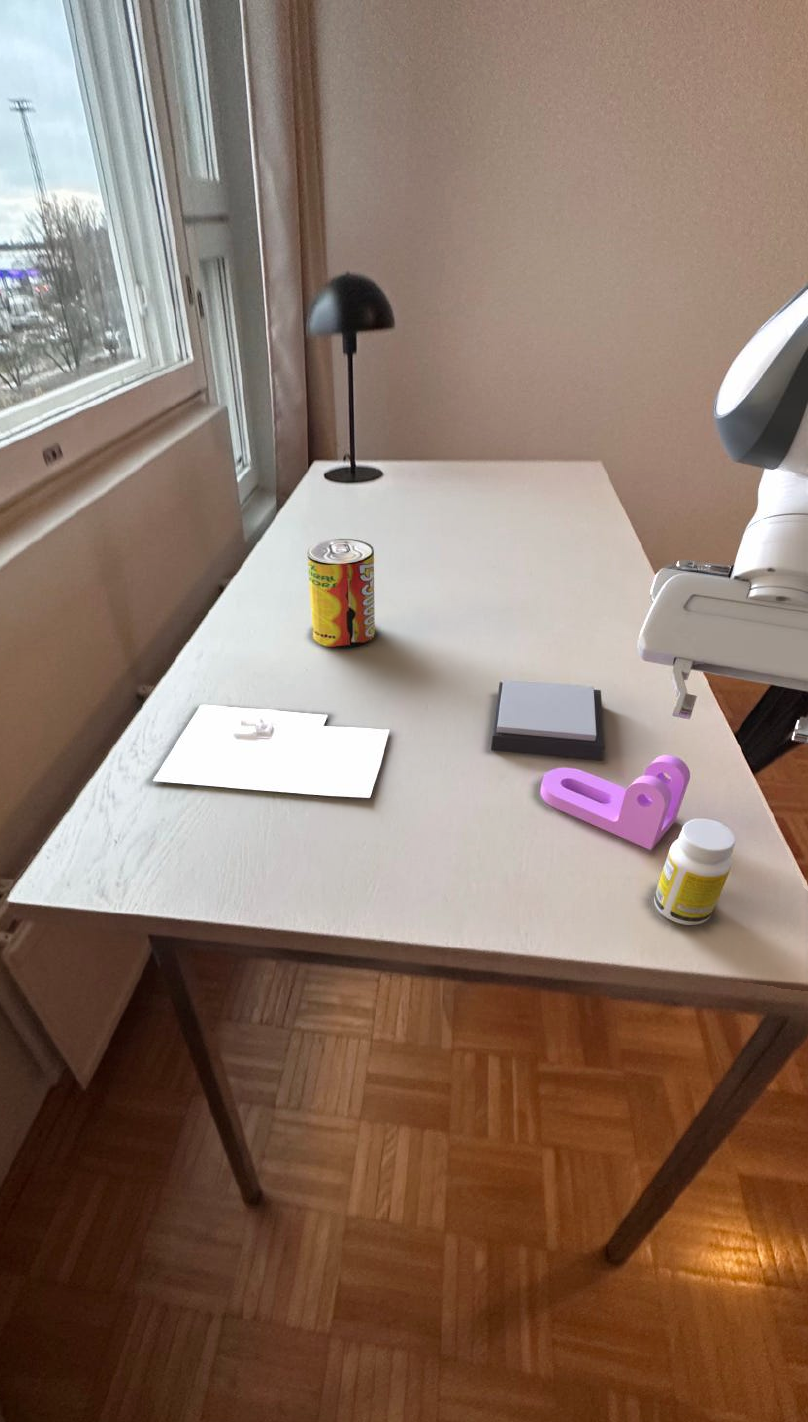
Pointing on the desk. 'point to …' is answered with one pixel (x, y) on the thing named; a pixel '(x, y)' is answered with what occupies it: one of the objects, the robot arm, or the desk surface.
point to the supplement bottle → (695, 872)
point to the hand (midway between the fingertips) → (739, 728)
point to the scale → (549, 720)
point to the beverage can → (342, 592)
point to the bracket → (622, 799)
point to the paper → (275, 753)
